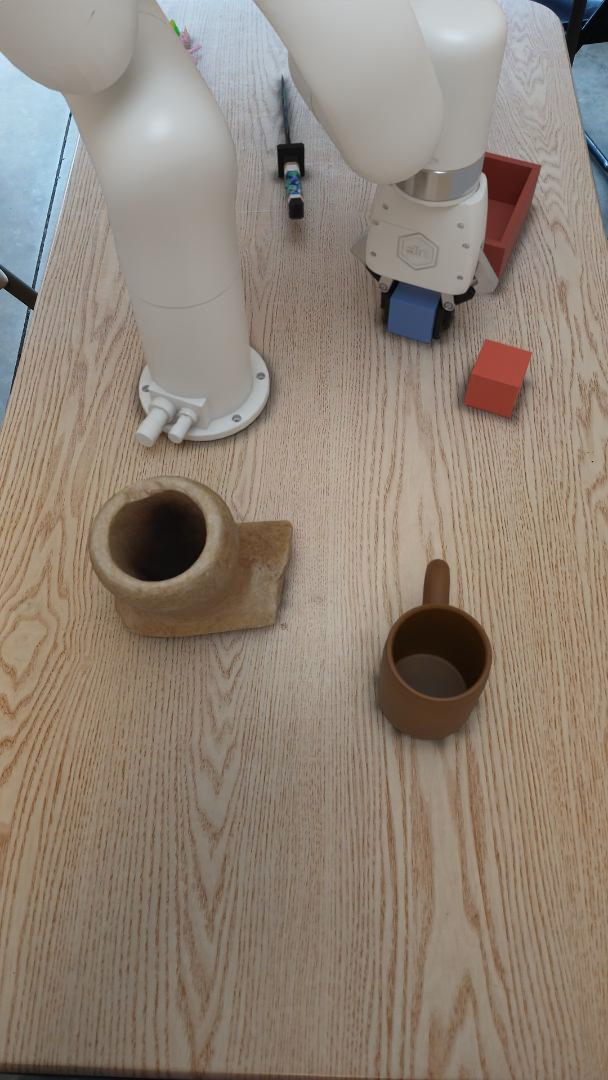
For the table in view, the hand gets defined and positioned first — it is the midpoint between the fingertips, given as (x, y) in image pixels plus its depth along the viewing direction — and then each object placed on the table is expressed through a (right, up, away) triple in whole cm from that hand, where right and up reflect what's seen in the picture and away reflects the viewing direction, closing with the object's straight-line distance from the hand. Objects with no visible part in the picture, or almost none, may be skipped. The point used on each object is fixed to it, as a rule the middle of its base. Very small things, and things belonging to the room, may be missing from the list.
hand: (415, 319), depth 84 cm
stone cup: (-20, -27, -14) cm, 37 cm away
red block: (+7, -8, -4) cm, 12 cm away
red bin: (+5, +11, +6) cm, 14 cm away
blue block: (0, 0, 0) cm, 0 cm away
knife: (-13, +22, +13) cm, 29 cm away
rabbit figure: (-27, +37, +22) cm, 51 cm away
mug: (-2, -33, -18) cm, 37 cm away
